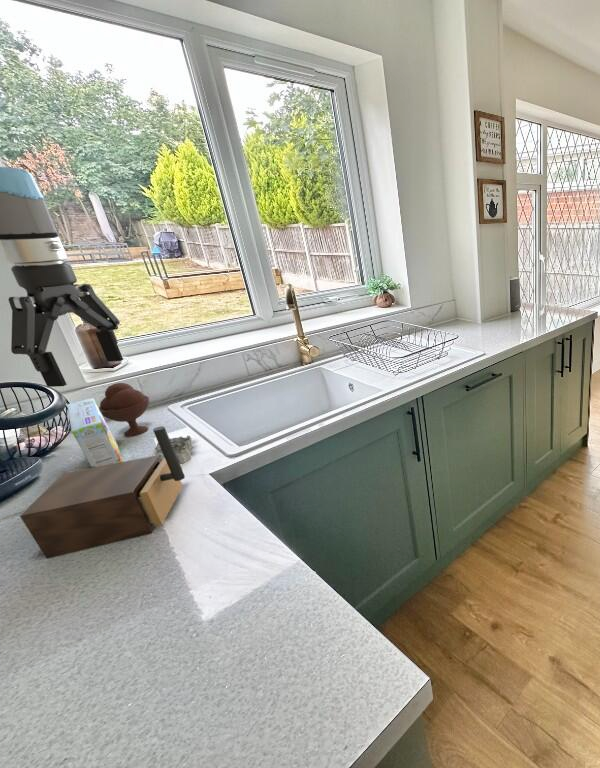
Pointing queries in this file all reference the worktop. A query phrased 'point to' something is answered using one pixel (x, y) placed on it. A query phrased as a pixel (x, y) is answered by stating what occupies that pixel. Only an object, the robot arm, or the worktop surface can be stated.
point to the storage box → (91, 508)
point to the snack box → (93, 433)
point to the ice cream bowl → (125, 406)
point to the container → (161, 482)
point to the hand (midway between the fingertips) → (88, 372)
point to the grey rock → (178, 449)
